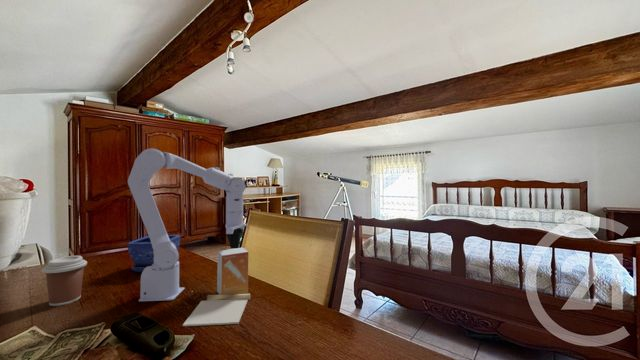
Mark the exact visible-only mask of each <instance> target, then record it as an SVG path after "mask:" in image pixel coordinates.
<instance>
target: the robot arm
mask: <svg viewBox="0 0 640 360" xmlns="http://www.w3.org/2000/svg"><path fill="white" fill-rule="evenodd" d="M164 166H165V170H169V169H177V170H180V171H183V172H184V173H185V172H186V173H188V174H192V175H194V176H197V177H200V178H202V180H203V182H204V184H205V185H210V186H212V187H214V188H217V189H220V190H222V191H225V193H226V198H225V229H226V230H225V231H224V235H225V236H226V237H227V240H228V243H229V247H230V248H229V249H235V248H240V243H241V239H242V235H243V233H244V230H245V229H244V228H243V227H247V225H248V224H247V223H244V192H245V190H246V187H247V185H246V183H245V181H244V180H243V179H242V178H240V177H235V176H234V174H232V173H227V172H224V171H222V170H221V168H220V167H217V166H216V167H209V168H205V167H202V166H200V165H199V164H197V163H193V162H191V161H189V160H187V159H186V158H183V157H180V156H179V155H176V154H174V153H170V152H167V151H166V152H165V151H163V152H162V151H161V150H159V149H157V148H153V147H151V148H147V149H145V150H143V151H141V153H140V154H138V156H137V157H136V158H135V160H134V162H133V166H132V168H131V170H130V174H129V176H128V179H127V184H128V187H129V190H130V193H131V195H132V197H133V199H134V202H135V206H136V207H137V210H138V212H139V215H140V217H141V219H142V222H143V225H144V228H145V231H146V232H147V234H148V235H147V236H149V238H150V240H151V244H152V247H153V250H154V251H153V254H154V264H152V266H148V267H146V268H145V269H144V270H143V272H141V275H140V287H139V288H140V289H139V290H140V292H139V294H140V296H139V299H138V302H155V301H156V302H158V301H173V300H175V299H176V298H177V297H178V296H179V295H180V294H181V293H182V292H183V291H184V290H185V287H181V286H180V261H179V258H180V255H179V251H177V249H176V245H175V244H174V243H173V242H171V241H170V239H169V237H168V235H169V233H168V232H167V230H166V227H165V224H164V222H163V220H162V217H161V215H160V211H159V209H158V206H157V203H156V201H155V199H154V196H153V192H152V190H151V189H150V188H151V187H150V185H149V183H150V182H151V180H152V179H153V177H154V175H155V174H156V173H158V172H159V171H160V170H162V169H163V167H164Z"/></svg>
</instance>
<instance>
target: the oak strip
mask: <svg viewBox="0 0 640 360" xmlns="http://www.w3.org/2000/svg"><path fill="white" fill-rule="evenodd" d="M206 298H207V299H206V301H209V300H234V299H248V301H250V300H251V293H246V294H226V295H219V294H208V295H207V296H206Z"/></svg>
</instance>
